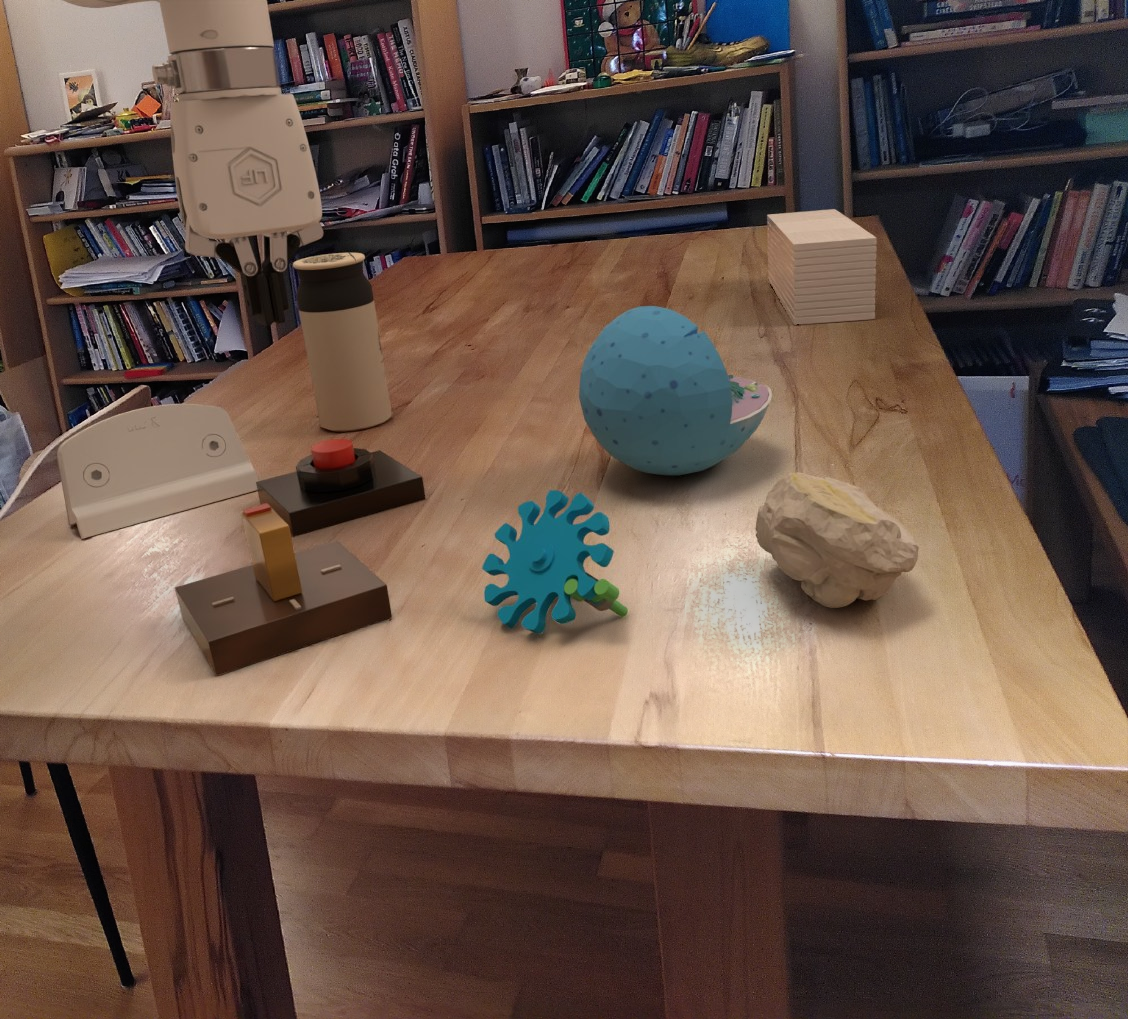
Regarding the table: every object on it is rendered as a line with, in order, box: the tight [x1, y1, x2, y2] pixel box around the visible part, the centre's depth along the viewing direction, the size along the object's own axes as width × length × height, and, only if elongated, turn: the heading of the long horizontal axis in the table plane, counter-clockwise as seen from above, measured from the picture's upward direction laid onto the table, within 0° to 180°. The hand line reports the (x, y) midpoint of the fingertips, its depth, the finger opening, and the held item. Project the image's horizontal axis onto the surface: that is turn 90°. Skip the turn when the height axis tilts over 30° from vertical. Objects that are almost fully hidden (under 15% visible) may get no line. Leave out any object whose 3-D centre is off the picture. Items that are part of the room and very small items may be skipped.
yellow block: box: [240, 503, 302, 601], centre depth 71 cm, size 5×2×5 cm, turn 30°
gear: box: [481, 489, 629, 635], centre depth 70 cm, size 11×6×10 cm
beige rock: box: [755, 471, 920, 609], centre depth 68 cm, size 12×8×10 cm
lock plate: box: [174, 539, 393, 676], centre depth 72 cm, size 12×10×3 cm
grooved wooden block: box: [766, 208, 878, 326], centre depth 153 cm, size 32×11×11 cm, turn 176°
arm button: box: [310, 438, 356, 469], centre depth 91 cm, size 4×4×2 cm
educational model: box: [578, 305, 773, 477], centre depth 91 cm, size 16×19×15 cm
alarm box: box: [256, 447, 427, 538], centre depth 92 cm, size 12×10×4 cm
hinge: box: [56, 403, 260, 540], centre depth 95 cm, size 17×5×10 cm, turn 124°
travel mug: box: [292, 252, 393, 433], centre depth 113 cm, size 8×8×18 cm
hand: (270, 321), depth 85 cm, fingers closed
